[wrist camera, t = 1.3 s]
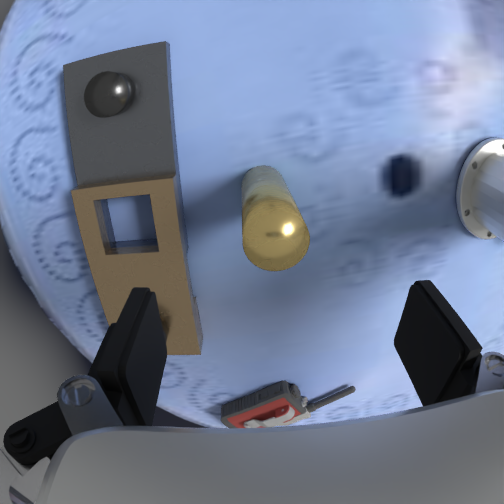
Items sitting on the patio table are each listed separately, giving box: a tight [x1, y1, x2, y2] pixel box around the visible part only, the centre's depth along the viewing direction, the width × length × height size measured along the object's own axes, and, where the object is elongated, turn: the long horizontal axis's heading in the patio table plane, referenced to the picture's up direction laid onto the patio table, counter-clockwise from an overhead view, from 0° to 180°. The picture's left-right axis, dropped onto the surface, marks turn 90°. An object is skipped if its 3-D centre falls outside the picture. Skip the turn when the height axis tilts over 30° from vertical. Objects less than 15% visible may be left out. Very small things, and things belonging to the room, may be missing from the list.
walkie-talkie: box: [221, 381, 355, 428], centre depth 43 cm, size 9×4×20 cm
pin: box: [241, 166, 310, 271], centre depth 25 cm, size 4×4×12 cm
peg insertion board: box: [63, 41, 203, 355], centre depth 29 cm, size 10×32×5 cm, turn 2°
